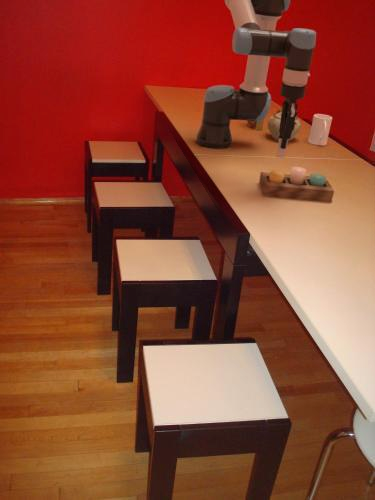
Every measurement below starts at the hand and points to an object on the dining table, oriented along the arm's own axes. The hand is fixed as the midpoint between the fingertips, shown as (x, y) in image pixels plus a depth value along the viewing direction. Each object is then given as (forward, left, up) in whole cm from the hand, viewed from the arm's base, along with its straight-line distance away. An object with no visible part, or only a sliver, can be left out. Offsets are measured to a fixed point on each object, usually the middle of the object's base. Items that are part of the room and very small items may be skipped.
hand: (280, 156), depth 165 cm
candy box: (+2, +79, -12) cm, 80 cm away
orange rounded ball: (0, 0, -11) cm, 11 cm away
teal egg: (+14, 0, -11) cm, 18 cm away
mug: (+29, +61, -12) cm, 69 cm away
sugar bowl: (+13, +64, -12) cm, 66 cm away
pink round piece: (+7, 0, -9) cm, 11 cm away
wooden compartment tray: (+7, 0, -12) cm, 14 cm away
